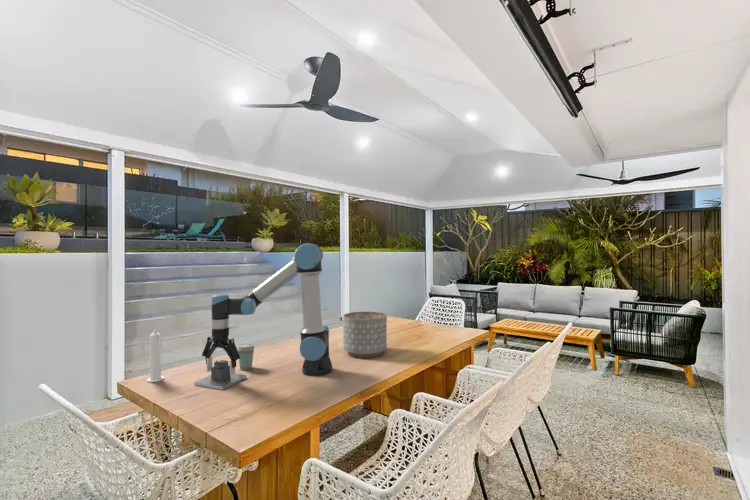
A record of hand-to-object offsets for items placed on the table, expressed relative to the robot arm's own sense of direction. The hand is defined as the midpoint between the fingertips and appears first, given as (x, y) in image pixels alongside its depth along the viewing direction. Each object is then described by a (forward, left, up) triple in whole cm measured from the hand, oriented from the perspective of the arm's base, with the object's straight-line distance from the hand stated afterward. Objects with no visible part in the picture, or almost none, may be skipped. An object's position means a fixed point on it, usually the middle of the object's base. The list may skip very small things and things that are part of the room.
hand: (220, 372), depth 183 cm
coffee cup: (+2, -20, -4) cm, 21 cm away
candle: (+31, +9, -4) cm, 33 cm away
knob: (0, 0, -3) cm, 3 cm away
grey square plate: (0, 0, -4) cm, 4 cm away
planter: (-45, -68, -4) cm, 82 cm away
